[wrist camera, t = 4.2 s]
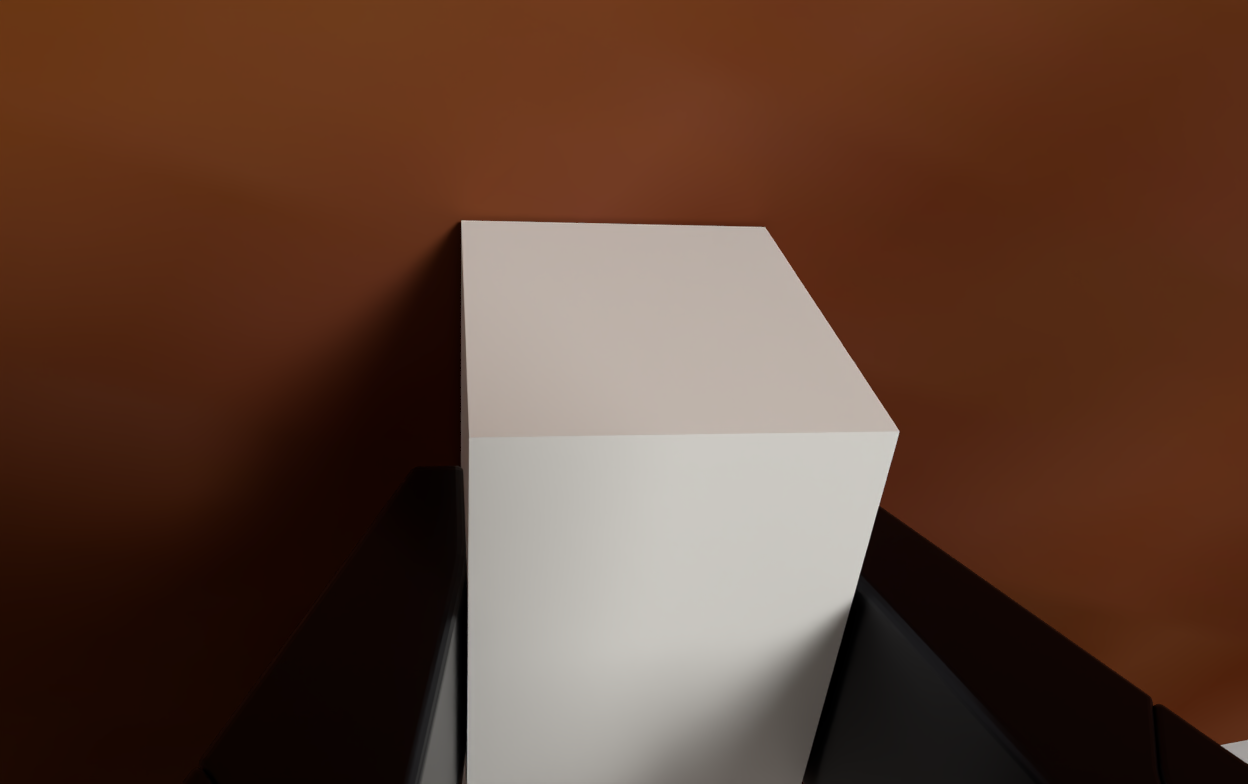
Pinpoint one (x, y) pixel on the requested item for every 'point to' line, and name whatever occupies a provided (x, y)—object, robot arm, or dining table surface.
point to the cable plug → (654, 503)
